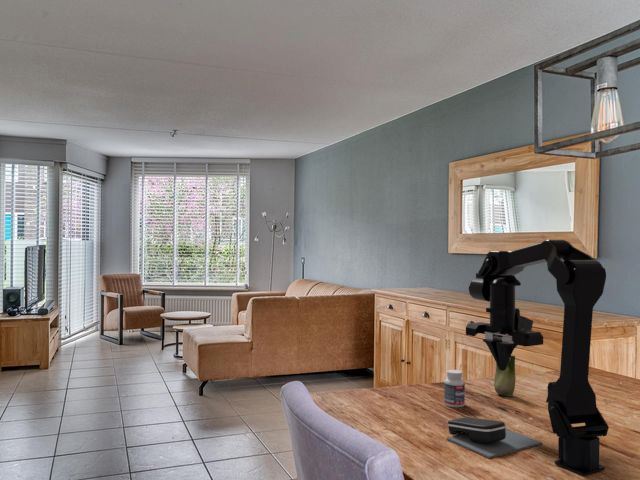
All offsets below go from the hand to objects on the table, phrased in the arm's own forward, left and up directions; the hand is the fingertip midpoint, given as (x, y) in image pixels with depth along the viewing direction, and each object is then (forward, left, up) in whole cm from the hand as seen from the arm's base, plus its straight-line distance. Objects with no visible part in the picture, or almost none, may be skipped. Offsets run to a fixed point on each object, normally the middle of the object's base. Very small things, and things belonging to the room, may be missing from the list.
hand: (502, 370), depth 128 cm
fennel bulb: (+18, -21, -13) cm, 31 cm away
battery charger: (+2, +13, -12) cm, 18 cm away
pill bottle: (+18, -2, -13) cm, 22 cm away
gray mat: (-6, +10, -13) cm, 18 cm away
